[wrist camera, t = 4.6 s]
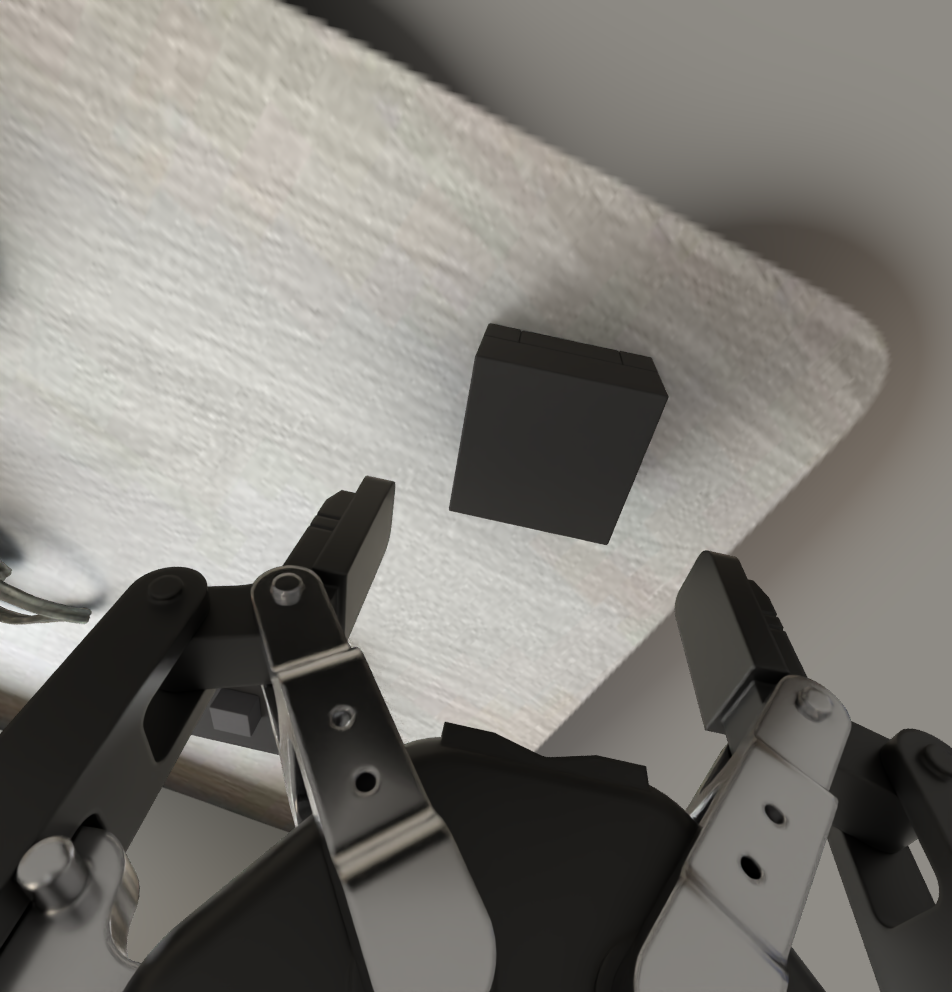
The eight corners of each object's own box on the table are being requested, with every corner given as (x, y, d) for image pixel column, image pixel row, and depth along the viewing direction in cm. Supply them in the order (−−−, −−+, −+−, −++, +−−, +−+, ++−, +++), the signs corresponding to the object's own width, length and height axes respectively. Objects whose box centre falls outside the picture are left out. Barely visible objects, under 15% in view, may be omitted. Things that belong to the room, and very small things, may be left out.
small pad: (651, 357, 18) (669, 396, 15) (601, 492, 22) (607, 546, 19) (488, 322, 19) (475, 354, 16) (463, 462, 22) (448, 511, 19)
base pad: (334, 650, 30) (317, 688, 28) (332, 749, 36) (318, 786, 34) (154, 610, 30) (123, 644, 28) (183, 715, 37) (159, 750, 34)
